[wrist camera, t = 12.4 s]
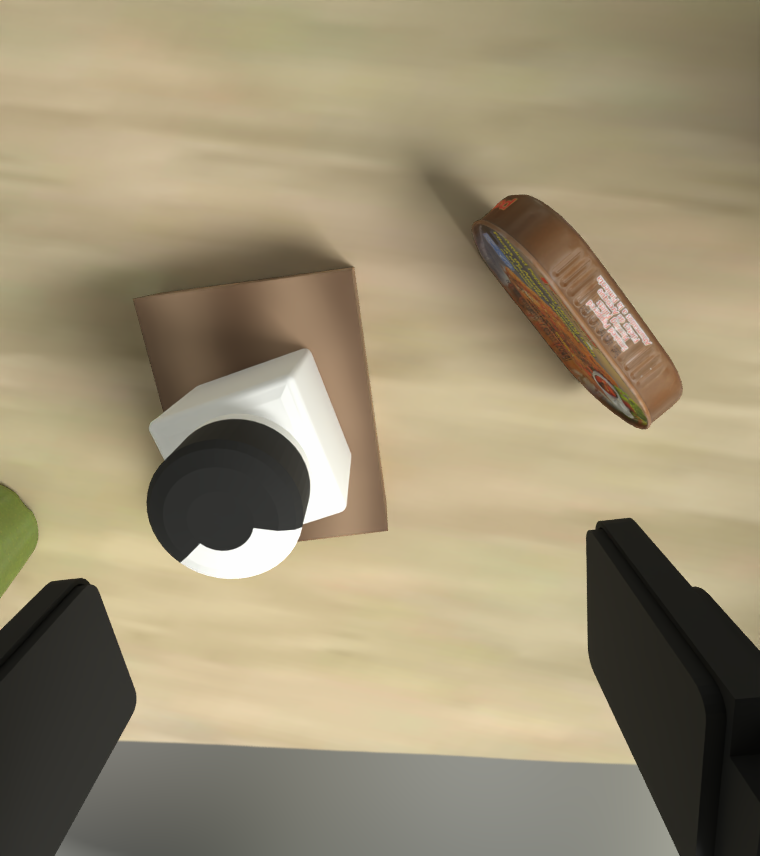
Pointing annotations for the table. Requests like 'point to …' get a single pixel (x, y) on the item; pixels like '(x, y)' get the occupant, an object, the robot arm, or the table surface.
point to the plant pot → (14, 536)
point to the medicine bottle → (247, 467)
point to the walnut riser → (271, 338)
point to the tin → (578, 308)
